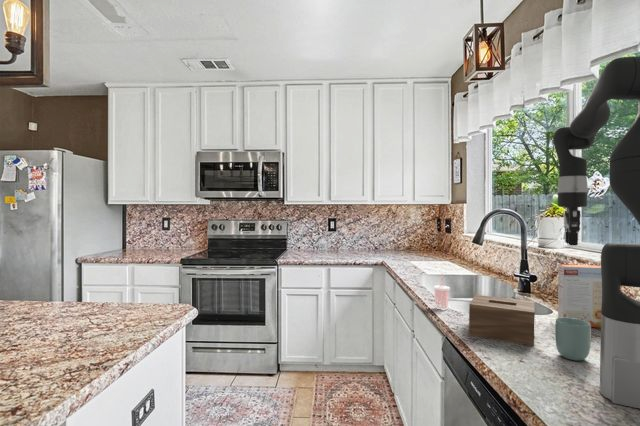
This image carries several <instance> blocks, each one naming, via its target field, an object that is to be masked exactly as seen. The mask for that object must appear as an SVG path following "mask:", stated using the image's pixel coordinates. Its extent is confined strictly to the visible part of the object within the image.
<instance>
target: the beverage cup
mask: <svg viewBox="0 0 640 426" xmlns="http://www.w3.org/2000/svg"><path fill="white" fill-rule="evenodd" d="M443 275H444V274H443V273H442V274H441V276H440V279H441V280H440V282H441V285H438V284H437V285H434V286H433V288H434V302H435V303H434V304H435V305H434V306H435V307H436V308H437V309H448V307H449V296H450V290H451V287H450V286H447V285H443V278H444V277H443ZM437 309H436V310H437Z"/></svg>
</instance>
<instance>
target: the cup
mask: <svg viewBox="0 0 640 426" xmlns="http://www.w3.org/2000/svg"><path fill="white" fill-rule="evenodd" d="M554 324H555V330H554V331H555V333H554V335H555V336H554V338H555V345H556V346H555V347H556V349H557V352H558V353H559V355H561V357H562V358H564V359H567V360H571V361H574V362H575V361H583V360H586V359H587V358H588V357H589V354H590V350H591V341H592V327H591V324H590V323H589V322H587V321H584V320H580V319H576V318H569V317H560V318H558V317H557V318H556V319H555V323H554Z"/></svg>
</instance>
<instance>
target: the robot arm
mask: <svg viewBox="0 0 640 426" xmlns="http://www.w3.org/2000/svg"><path fill="white" fill-rule="evenodd" d="M610 100H615V101H625V100H626V101H627V100H628V101H629V100H630V101H633V100H634V101H635V100H636V101H638V110H637V115H636V117H635V120H634V122H633V124H632V125H631V127H630V128H629V129H628V130H627V131H626V133H624V135H623V136H622V138H621V139H620V140H618V143H617V144H615V146H614V148H613V150H612V152H611V153H610V155H609V169H608V170H609V174H608V175H609V185H610V187H611V190H612V191H613V193H614V194H615V195H616V196H617V198H618V200H620V201H621V203H622V204H623V205H624V206H625V207H626V208H627V210H628V211H629V212H630V213H631V214H632V216H633V218H634V219H635V220H636V221H637V223H638V225H639V226H640V56H639V55H638V56H622V57H621V56H620V57H618V58H613V59H612V60H611V61H609V62H608V64H606V65H605V67H604V68H603V69H602V71H601V73H600V75H599V76H598V78H597V80H596V82H595V84H594V86H593V88H592V90H591V91H590V93H589V96H588V98H587V99H586V102H585V104H584V106H583V107H582V109H581V110H580V111H579V112H578V114H576V115H575V117H574V118H573V119H572V120H571V122H570V125H569V126H561V127H559V128H557V129H555V131H554V132H553V135H552V144H553V146H554V149H555V152H556V156H557V159H558V161H557V162H558V167H559V168H558V171H559V172H558V176H559V177H558V183H557V207H559V208H566V209H565V210H564V212H563V225H564V226H563V227H564V230H565V243H566V244H568V245H569V246H578V244H579V234H580V233H579V232H580V230H581V227H580V226H581V211H580V210H579V209H578V208H586V207H587V206H588V179H587V178H588V177H587V176H588V175H587V171H588V167H587V166H588V162H587V161H588V160H587V159H586V158H585V157H581V156H577V155H573V154H572V153H571V152H570V151H571V150H586V149H589V148H590V147H591V146H593V144H594V142H595V138H596V135H597V134H598V132H599V131H600V130H601V129H602V128H603V127H604V126H605V125H606V124H607V122H608V121H609V120H610V116H611V109H610V105H609V104H608V101H610ZM600 266H601V276H602V307H601V328H600V348H599V349H600V357H599V392H600V394H601V395H602V396H604V397H605V398H607V399H608V400H610V401H611V402H612V403H613V404H615V405H621V406H626V407H631V408H634V409H639V410H640V301H639V300H638V299H635V298H632V297H630V296H629V295H627V294H626V293H624V292H623V291H622V290H621V287H631V288H638V289H640V243H633V242H632V243H631V242H629V243H628V242H607V243H605V244H604V245H603V247H602V248H601V251H600Z"/></svg>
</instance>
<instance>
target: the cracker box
mask: <svg viewBox="0 0 640 426" xmlns="http://www.w3.org/2000/svg"><path fill="white" fill-rule="evenodd" d="M557 267H558V268H557V272H558V273H557V274H558V275H557V277H558V278H557V286H558V287H557V291H558V292H557V297H558V298H557V299H558V301H557V318H560V317H569V318H576V319H580V320H584V321H587V322H589V323H590V324H591V328H595V329H596V328H599V329H601V307H602V276H601V265H588V264H587V265H586V264H558V265H557Z"/></svg>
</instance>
